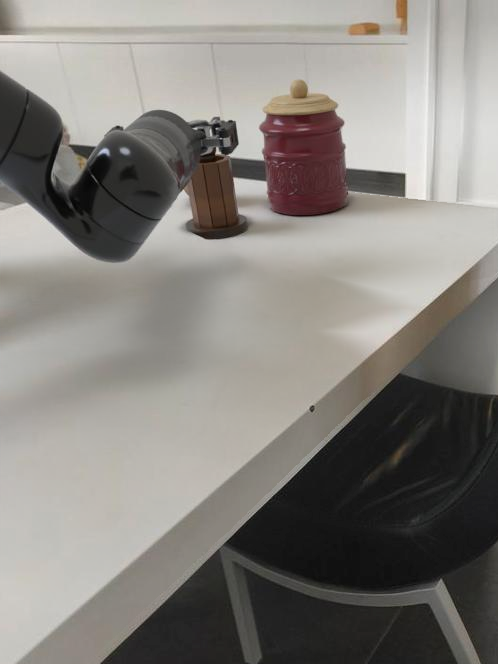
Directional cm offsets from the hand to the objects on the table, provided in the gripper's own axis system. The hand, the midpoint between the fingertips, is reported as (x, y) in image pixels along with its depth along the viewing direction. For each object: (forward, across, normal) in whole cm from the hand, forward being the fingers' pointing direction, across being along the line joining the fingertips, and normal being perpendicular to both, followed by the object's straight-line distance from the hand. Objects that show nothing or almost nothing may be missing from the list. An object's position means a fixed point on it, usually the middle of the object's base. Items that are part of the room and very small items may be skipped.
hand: (183, 127), depth 84 cm
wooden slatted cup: (+11, 0, +14) cm, 18 cm away
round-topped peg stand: (+11, 0, +16) cm, 19 cm away
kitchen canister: (+21, -14, +16) cm, 30 cm away
